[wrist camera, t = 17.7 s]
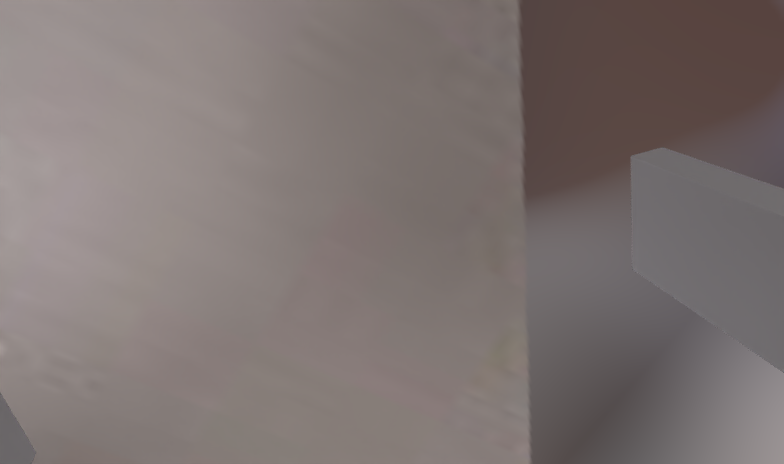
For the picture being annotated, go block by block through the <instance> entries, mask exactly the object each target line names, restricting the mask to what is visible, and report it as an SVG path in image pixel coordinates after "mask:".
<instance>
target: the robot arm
mask: <svg viewBox="0 0 784 464" xmlns="http://www.w3.org/2000/svg"><path fill="white" fill-rule="evenodd" d="M631 216H632V217H631V220H632V270H634V271H635V272H637V273H638V274H639V275H641V276H642V277H644V278H645V279H647V280H649V281H650V282H651V283H653V284H654V285H656V286H657V287H659V288H660V289H661V290H663V291H664V292H666V293H667V294H669V295H670V296H672V297H673V298H675V299H676V300H678V301H679V302H681V303H682V304H684V305H685V306H686V307H688V308H690V309H691V310H692V311H694V312H695V313H697V314H698V315H700V316H701V317H703V318H704V319H706V320H707V321H709V322H710V323H711V324H713V325H714V326H716V327H717V328H719V329H720V330H722V331H723V332H725V333H726V334H728V335H729V336H730V337H732V338H733V339H735V340H736V341H738V342H739V343H741V344H742V345H744V346H745V347H747V348H748V349H750V350H751V351H752V352H754V353H755V354H757V355H759V356H760V357H762V358H763V359H764V360H766V361H767V362H769V363H770V364H772V365H773V366H774V367H776V368H778V369H779V370H780V371H782V372H783V373H784V189H783V188H780V187H777V186H774V185H771V184H768V183H765V182H762V181H759V180H756V179H754V178H751V177H748V176H745V175H742V174H739V173H736V172H733V171H730V170H727V169H725V168H722V167H719V166H716V165H713V164H710V163H707V162H704V161H701V160H698V159H695V158H693V157H690V156H687V155H684V154H681V153H678V152H675V151H672V150H669V149H666V148H658V149H655V150H651V151H647V152H644V153H640V154H637V155H633V156H631ZM35 454H36V451H35V450H34V448H33V446H32V445H31V443H30V441H29V440H28V438H27V436H26V435H25V433H24V431H23V430H22V428H21V426H20V425H19V423H18V421H17V420H16V418H15V416H14V415H13V413H12V411H11V409H10V408H9V406H8V404H7V403H6V401H5V399H4V398H3V396H2V394H1V393H0V464H31V463H32V461H33V459H34V456H35Z"/></svg>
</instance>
